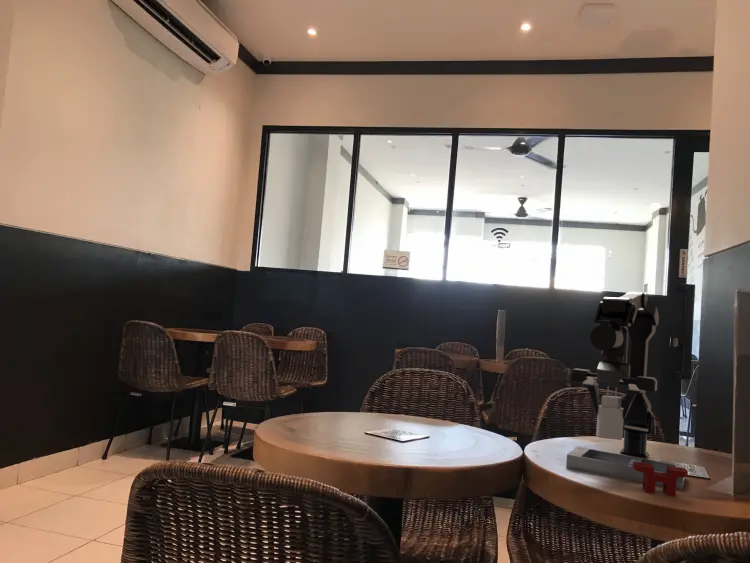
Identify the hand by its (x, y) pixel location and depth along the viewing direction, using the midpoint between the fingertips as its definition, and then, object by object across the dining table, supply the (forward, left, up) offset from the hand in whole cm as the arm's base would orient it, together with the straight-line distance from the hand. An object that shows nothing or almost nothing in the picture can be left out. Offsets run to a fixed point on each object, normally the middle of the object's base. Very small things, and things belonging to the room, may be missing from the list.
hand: (610, 416), depth 137 cm
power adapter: (0, 0, -5) cm, 5 cm away
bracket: (+12, +17, -10) cm, 23 cm away
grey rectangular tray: (0, +4, -13) cm, 13 cm away
